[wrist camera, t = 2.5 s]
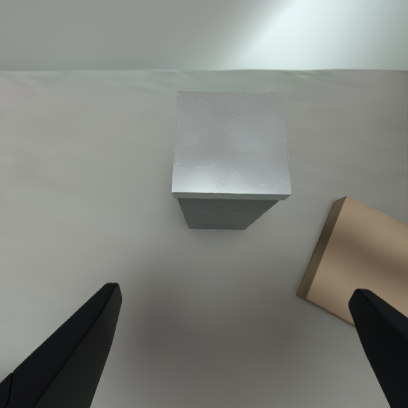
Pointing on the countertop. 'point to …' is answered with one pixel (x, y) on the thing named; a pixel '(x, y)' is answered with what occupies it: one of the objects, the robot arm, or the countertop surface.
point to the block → (357, 260)
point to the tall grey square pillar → (229, 157)
